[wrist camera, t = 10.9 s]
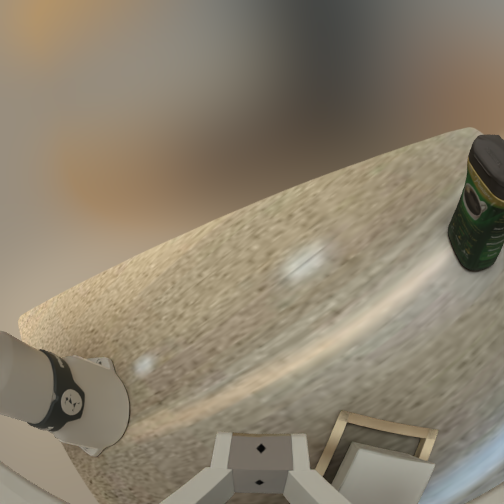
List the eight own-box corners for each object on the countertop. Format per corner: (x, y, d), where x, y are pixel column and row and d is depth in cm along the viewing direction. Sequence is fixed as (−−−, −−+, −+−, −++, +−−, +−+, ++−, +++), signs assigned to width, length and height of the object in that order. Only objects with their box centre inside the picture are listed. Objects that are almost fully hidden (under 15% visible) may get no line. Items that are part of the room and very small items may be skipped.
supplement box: (381, 503, 20) (398, 538, 10) (326, 490, 23) (316, 521, 14) (407, 451, 23) (438, 463, 13) (352, 439, 27) (357, 447, 17)
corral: (397, 510, 19) (401, 515, 17) (305, 489, 24) (302, 493, 22) (432, 429, 23) (438, 429, 21) (341, 410, 29) (341, 409, 27)
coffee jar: (499, 266, 31) (547, 178, 16) (462, 277, 33) (508, 183, 18) (476, 218, 36) (504, 127, 22) (440, 226, 38) (463, 128, 24)
